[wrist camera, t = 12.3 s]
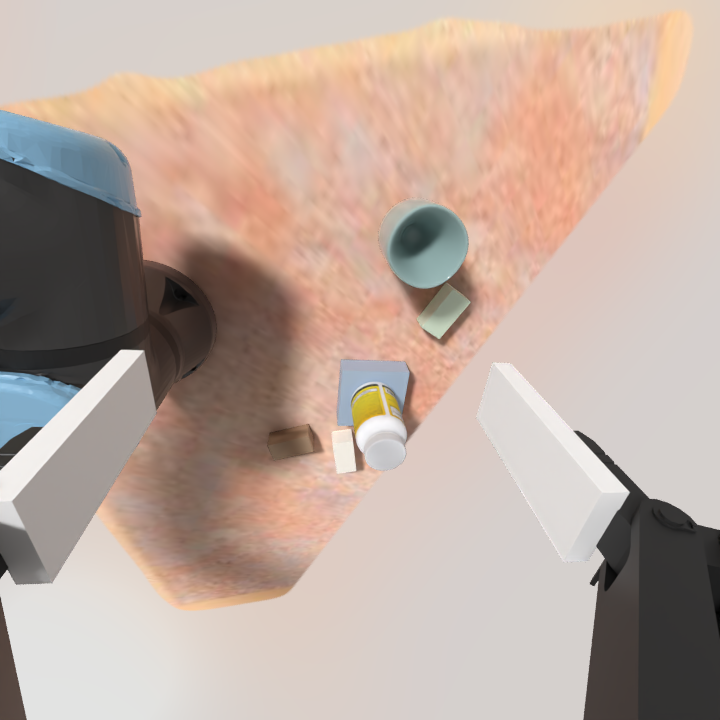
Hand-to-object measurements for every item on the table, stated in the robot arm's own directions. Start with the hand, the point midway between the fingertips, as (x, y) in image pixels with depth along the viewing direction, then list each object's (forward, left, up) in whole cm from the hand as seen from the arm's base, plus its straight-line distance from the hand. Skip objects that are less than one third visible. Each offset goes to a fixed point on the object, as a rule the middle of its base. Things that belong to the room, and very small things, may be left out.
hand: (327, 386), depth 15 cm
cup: (+10, +1, -33) cm, 34 cm away
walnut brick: (-3, -30, -33) cm, 45 cm away
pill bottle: (+8, -21, -30) cm, 37 cm away
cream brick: (+5, -32, -33) cm, 46 cm away
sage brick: (+16, -8, -33) cm, 37 cm away
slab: (+8, -21, -33) cm, 40 cm away
